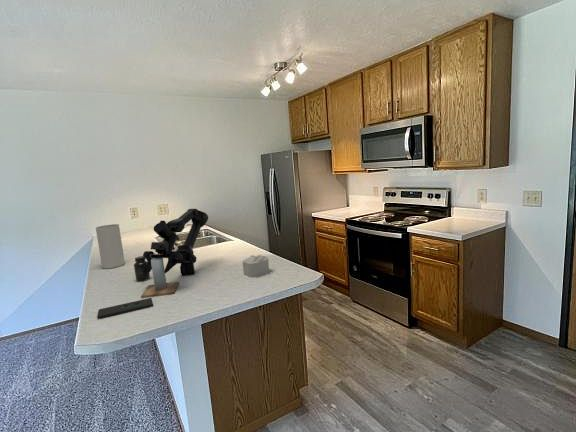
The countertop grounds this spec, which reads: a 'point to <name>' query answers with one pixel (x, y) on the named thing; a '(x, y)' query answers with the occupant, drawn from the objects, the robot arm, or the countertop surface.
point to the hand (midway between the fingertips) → (156, 272)
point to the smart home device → (124, 308)
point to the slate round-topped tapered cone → (158, 273)
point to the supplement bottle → (141, 269)
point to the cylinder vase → (110, 246)
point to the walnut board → (152, 292)
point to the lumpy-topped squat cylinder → (255, 266)
